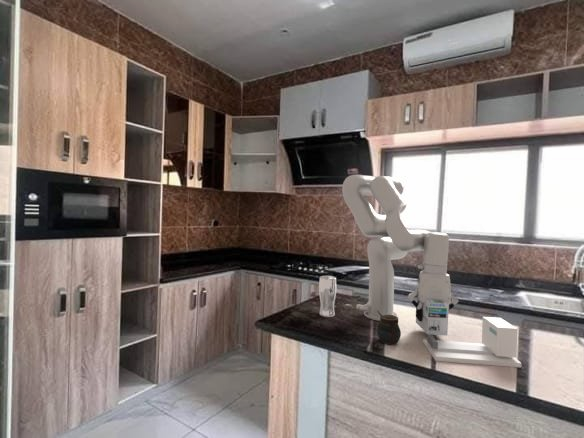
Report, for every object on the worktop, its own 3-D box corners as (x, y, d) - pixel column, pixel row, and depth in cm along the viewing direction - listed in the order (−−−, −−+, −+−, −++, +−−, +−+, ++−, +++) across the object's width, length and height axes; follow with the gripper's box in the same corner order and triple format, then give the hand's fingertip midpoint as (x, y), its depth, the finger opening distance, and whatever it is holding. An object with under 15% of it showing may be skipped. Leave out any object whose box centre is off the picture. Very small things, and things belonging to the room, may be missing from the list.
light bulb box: (447, 336, 102) (450, 303, 101) (426, 335, 102) (429, 302, 101) (433, 323, 112) (435, 293, 112) (414, 322, 113) (416, 292, 112)
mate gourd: (405, 346, 98) (406, 314, 97) (382, 347, 96) (383, 314, 96) (394, 336, 105) (394, 307, 104) (372, 338, 103) (373, 307, 103)
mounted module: (496, 356, 87) (497, 327, 87) (481, 342, 96) (482, 316, 96) (516, 357, 87) (517, 328, 86) (499, 344, 96) (500, 317, 95)
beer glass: (337, 317, 122) (337, 279, 122) (319, 317, 123) (319, 279, 122) (334, 312, 129) (335, 275, 129) (317, 311, 130) (318, 275, 129)
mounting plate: (435, 360, 88) (435, 346, 88) (423, 343, 100) (424, 330, 100) (521, 367, 85) (521, 352, 85) (498, 348, 97) (498, 335, 97)
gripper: (410, 269, 103) (406, 322, 104) (466, 273, 101) (462, 327, 102) (405, 265, 111) (402, 314, 112) (457, 268, 109) (454, 319, 110)
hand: (431, 320), depth 107 cm, fingers closed on light bulb box, 7 cm apart
